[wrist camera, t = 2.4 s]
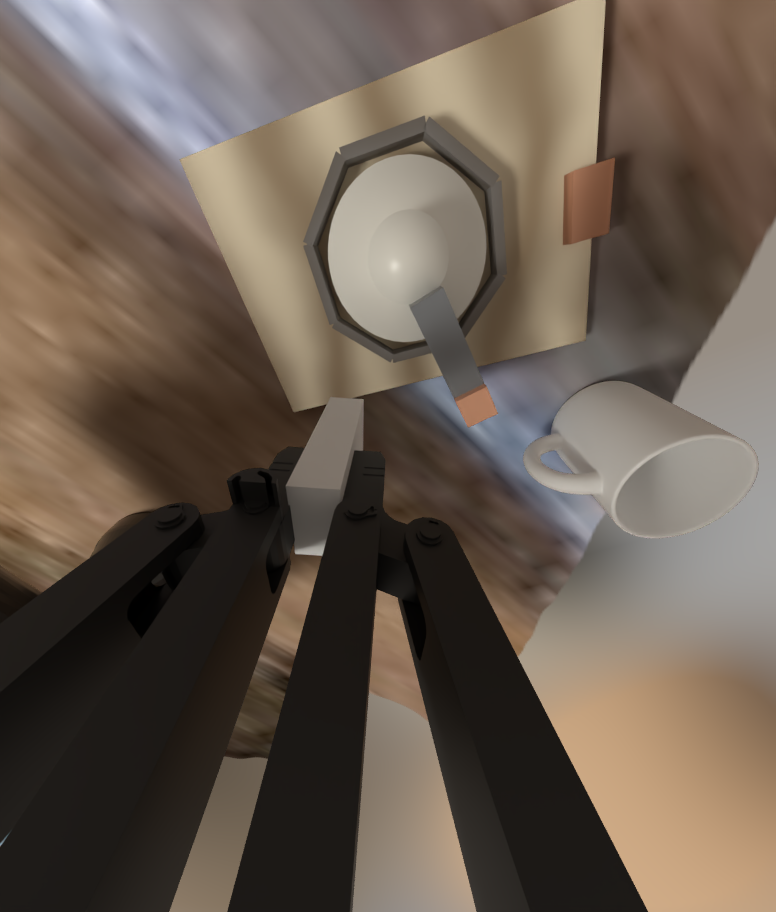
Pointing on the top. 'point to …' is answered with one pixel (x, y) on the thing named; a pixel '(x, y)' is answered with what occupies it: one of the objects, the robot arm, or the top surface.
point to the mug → (644, 460)
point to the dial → (414, 264)
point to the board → (459, 147)
